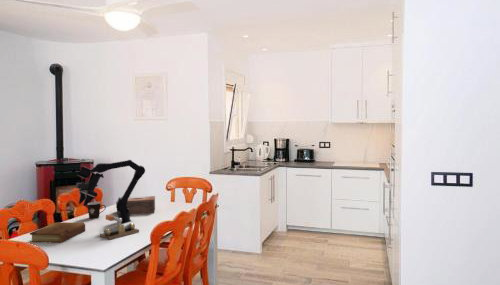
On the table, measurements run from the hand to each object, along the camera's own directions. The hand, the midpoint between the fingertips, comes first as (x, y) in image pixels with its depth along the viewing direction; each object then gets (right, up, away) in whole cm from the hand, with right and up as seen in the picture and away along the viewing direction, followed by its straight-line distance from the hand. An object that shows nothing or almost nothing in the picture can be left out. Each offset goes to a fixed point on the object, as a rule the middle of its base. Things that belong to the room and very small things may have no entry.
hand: (81, 204), depth 234 cm
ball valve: (+30, -14, -18) cm, 38 cm away
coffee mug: (-1, -13, +24) cm, 28 cm away
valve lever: (+25, -7, -14) cm, 30 cm away
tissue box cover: (+22, -13, +41) cm, 49 cm away
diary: (-4, -16, -20) cm, 26 cm away
